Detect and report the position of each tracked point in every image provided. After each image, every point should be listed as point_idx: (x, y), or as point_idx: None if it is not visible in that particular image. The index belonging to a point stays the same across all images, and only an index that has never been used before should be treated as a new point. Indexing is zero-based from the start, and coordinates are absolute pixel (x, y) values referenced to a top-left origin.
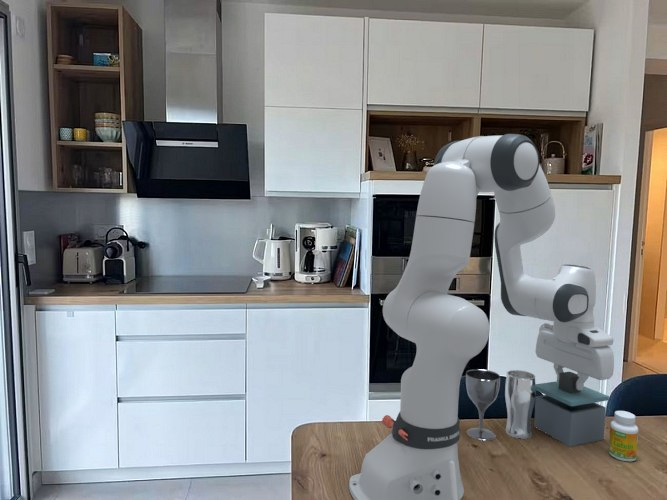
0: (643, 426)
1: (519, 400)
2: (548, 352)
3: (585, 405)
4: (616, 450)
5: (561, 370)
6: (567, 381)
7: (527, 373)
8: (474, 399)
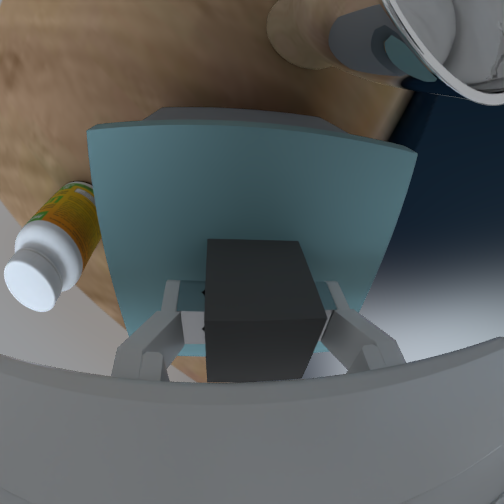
0: (195, 356)
1: None
2: (476, 408)
3: None
4: (61, 190)
5: (345, 354)
6: (237, 288)
7: (480, 94)
8: None
